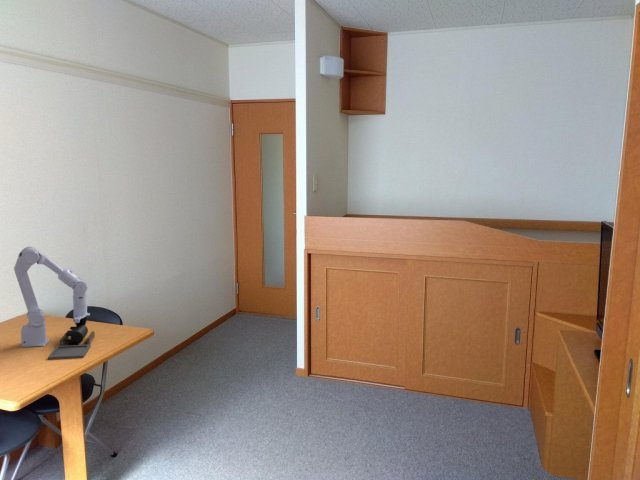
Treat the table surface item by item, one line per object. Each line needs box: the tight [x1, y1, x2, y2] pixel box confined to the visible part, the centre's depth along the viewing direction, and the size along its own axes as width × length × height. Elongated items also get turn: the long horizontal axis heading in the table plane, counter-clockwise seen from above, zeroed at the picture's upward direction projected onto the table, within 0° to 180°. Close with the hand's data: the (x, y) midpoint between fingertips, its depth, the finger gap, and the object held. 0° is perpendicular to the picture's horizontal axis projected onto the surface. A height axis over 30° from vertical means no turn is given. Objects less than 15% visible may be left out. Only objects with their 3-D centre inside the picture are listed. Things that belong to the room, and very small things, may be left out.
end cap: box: [65, 324, 89, 346], centre depth 229 cm, size 10×7×7 cm
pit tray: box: [47, 343, 92, 360], centre depth 217 cm, size 14×13×1 cm
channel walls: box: [59, 331, 96, 346], centre depth 229 cm, size 12×10×3 cm
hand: (81, 332), depth 236 cm, fingers closed
